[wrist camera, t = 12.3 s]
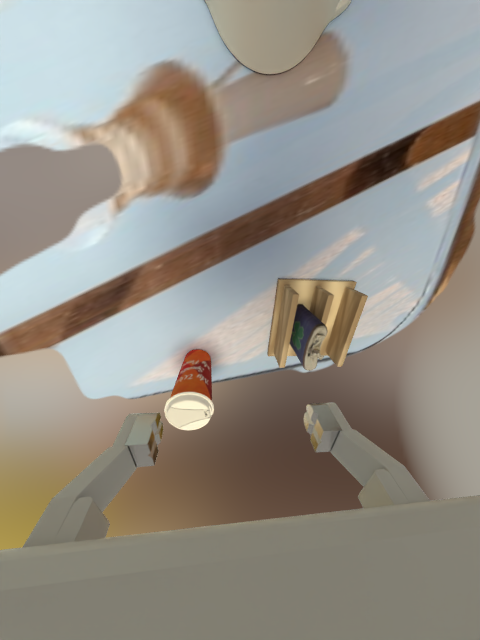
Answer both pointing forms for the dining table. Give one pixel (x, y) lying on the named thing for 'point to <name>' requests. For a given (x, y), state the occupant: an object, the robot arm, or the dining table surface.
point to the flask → (307, 337)
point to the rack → (326, 304)
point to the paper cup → (191, 393)
